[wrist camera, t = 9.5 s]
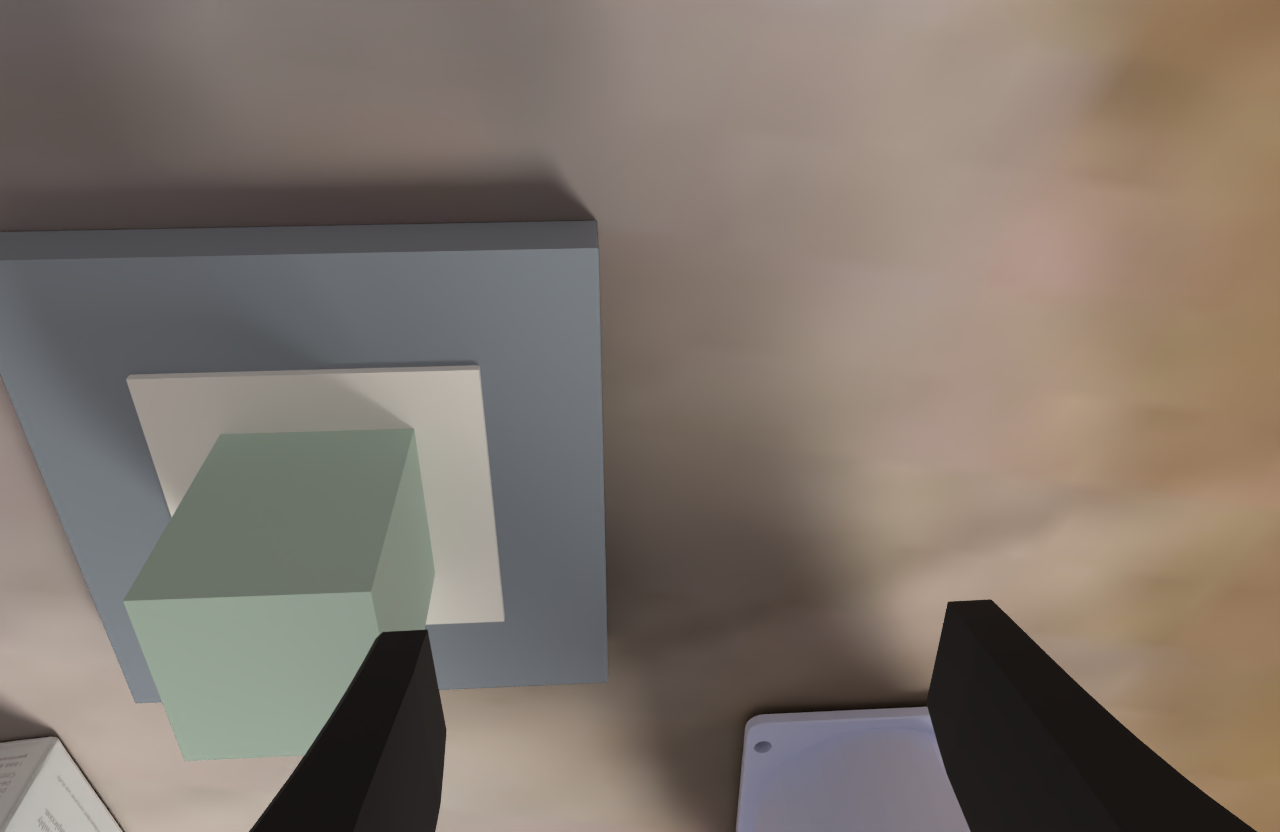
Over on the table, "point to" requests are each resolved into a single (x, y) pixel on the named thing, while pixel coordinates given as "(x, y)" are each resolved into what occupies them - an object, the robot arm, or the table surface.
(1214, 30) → the table surface
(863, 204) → the table surface
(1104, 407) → the table surface
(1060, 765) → the robot arm
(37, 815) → the small box
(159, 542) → the sage block
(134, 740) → the table surface
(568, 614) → the slate base
